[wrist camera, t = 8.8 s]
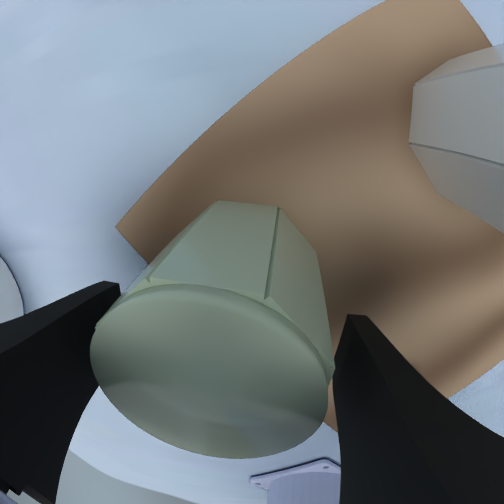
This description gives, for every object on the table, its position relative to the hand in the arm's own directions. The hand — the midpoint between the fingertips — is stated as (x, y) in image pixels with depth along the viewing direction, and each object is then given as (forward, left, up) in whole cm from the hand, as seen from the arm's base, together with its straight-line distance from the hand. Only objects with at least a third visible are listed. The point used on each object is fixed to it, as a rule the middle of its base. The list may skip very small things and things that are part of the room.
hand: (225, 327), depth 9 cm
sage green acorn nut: (0, 0, -4) cm, 4 cm away
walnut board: (-5, -6, -4) cm, 9 cm away
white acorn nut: (-1, -11, -4) cm, 12 cm away
